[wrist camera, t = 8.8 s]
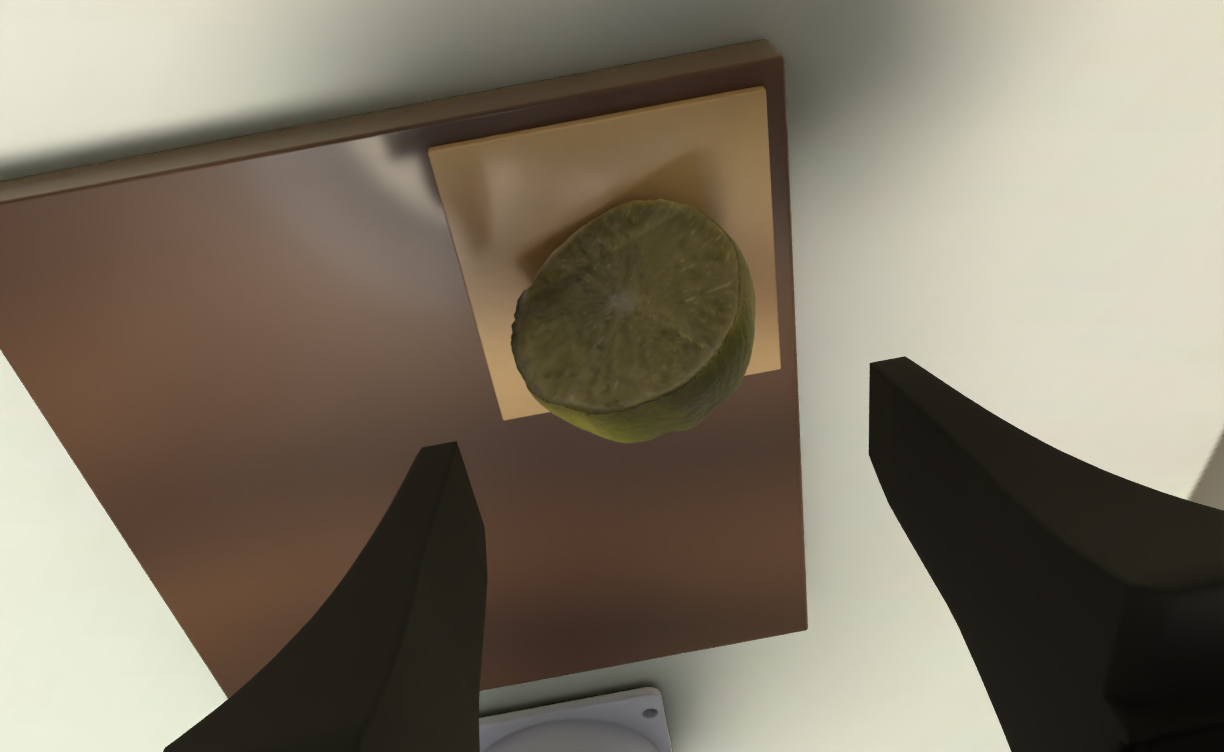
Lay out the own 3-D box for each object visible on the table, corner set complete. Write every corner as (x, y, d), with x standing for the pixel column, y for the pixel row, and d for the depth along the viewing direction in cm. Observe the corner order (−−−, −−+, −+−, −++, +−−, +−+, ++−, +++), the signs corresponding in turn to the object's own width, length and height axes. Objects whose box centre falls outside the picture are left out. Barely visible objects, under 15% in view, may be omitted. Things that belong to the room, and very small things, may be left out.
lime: (493, 321, 21) (491, 460, 16) (583, 133, 18) (607, 238, 14) (662, 381, 22) (700, 523, 18) (765, 214, 20) (835, 331, 16)
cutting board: (796, 595, 30) (811, 638, 28) (260, 694, 30) (247, 743, 28) (767, 37, 19) (789, 59, 18) (-51, 189, 19) (-96, 224, 18)
